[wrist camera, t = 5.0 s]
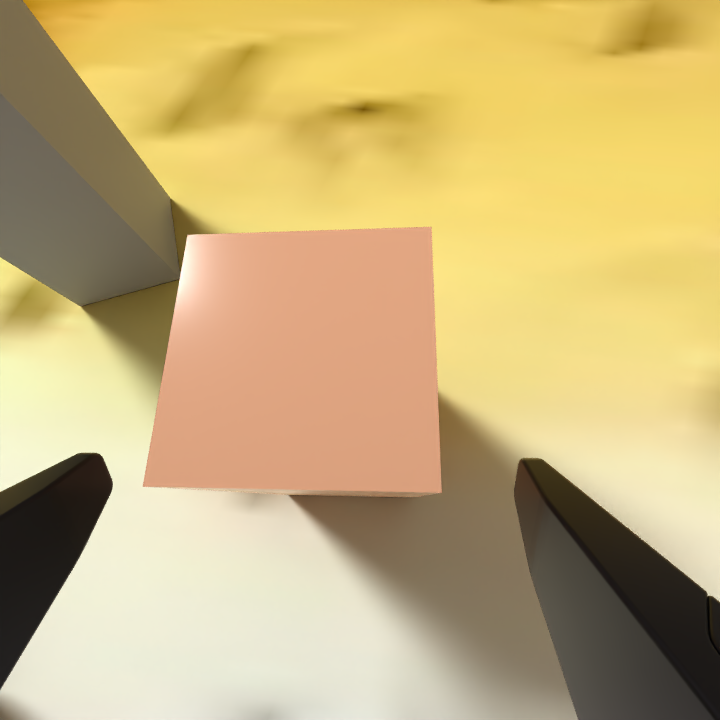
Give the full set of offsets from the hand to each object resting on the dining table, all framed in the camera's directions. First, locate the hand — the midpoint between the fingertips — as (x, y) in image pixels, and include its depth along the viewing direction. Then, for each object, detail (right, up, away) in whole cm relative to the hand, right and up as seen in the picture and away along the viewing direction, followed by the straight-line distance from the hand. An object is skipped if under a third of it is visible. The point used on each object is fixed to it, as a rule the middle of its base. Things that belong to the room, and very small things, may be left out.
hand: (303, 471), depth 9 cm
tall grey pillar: (-12, +8, +14) cm, 20 cm away
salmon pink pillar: (+1, -1, +10) cm, 10 cm away
